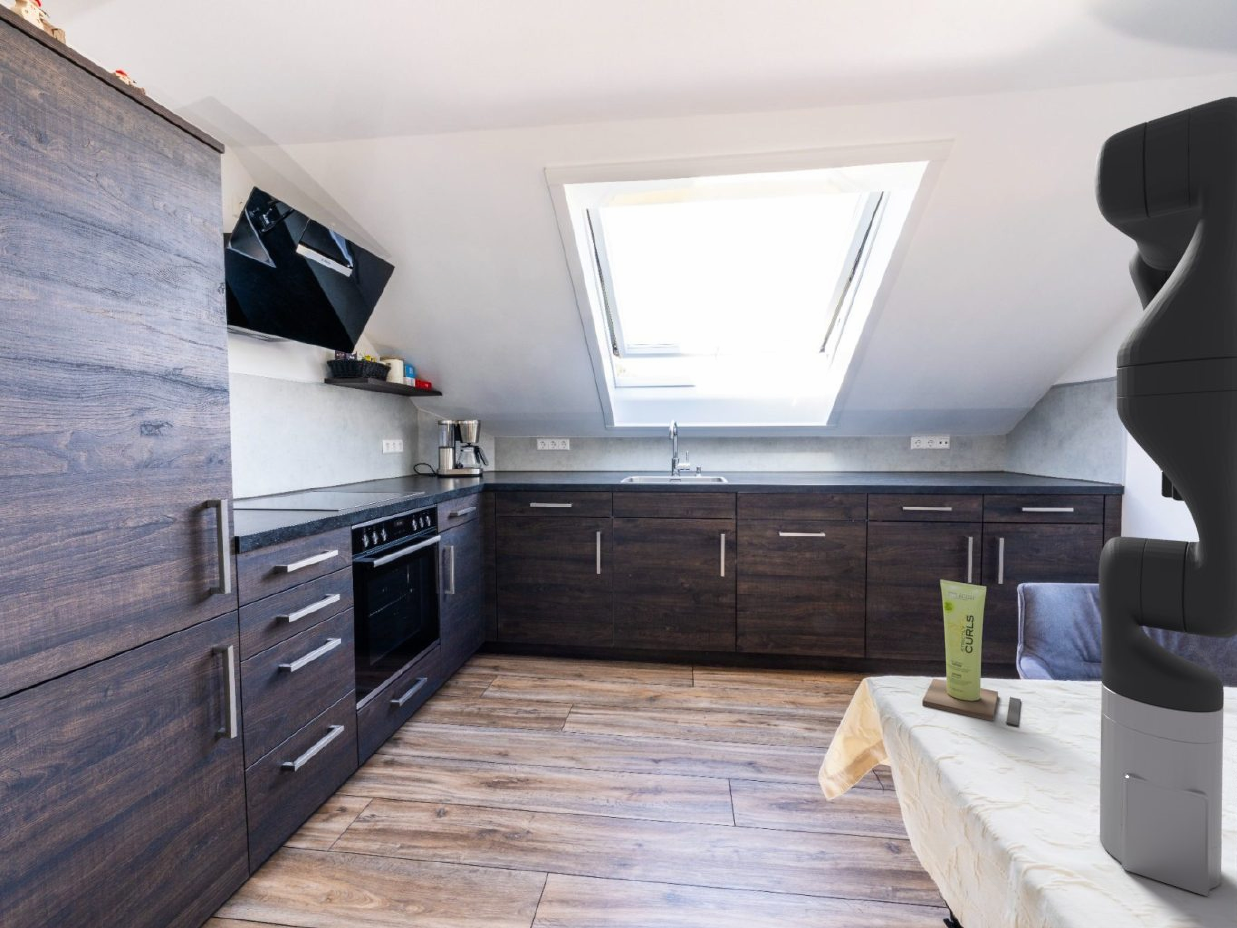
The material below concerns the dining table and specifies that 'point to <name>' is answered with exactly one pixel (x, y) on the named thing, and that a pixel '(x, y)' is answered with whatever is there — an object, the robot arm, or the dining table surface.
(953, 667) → the tube
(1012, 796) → the dining table surface
